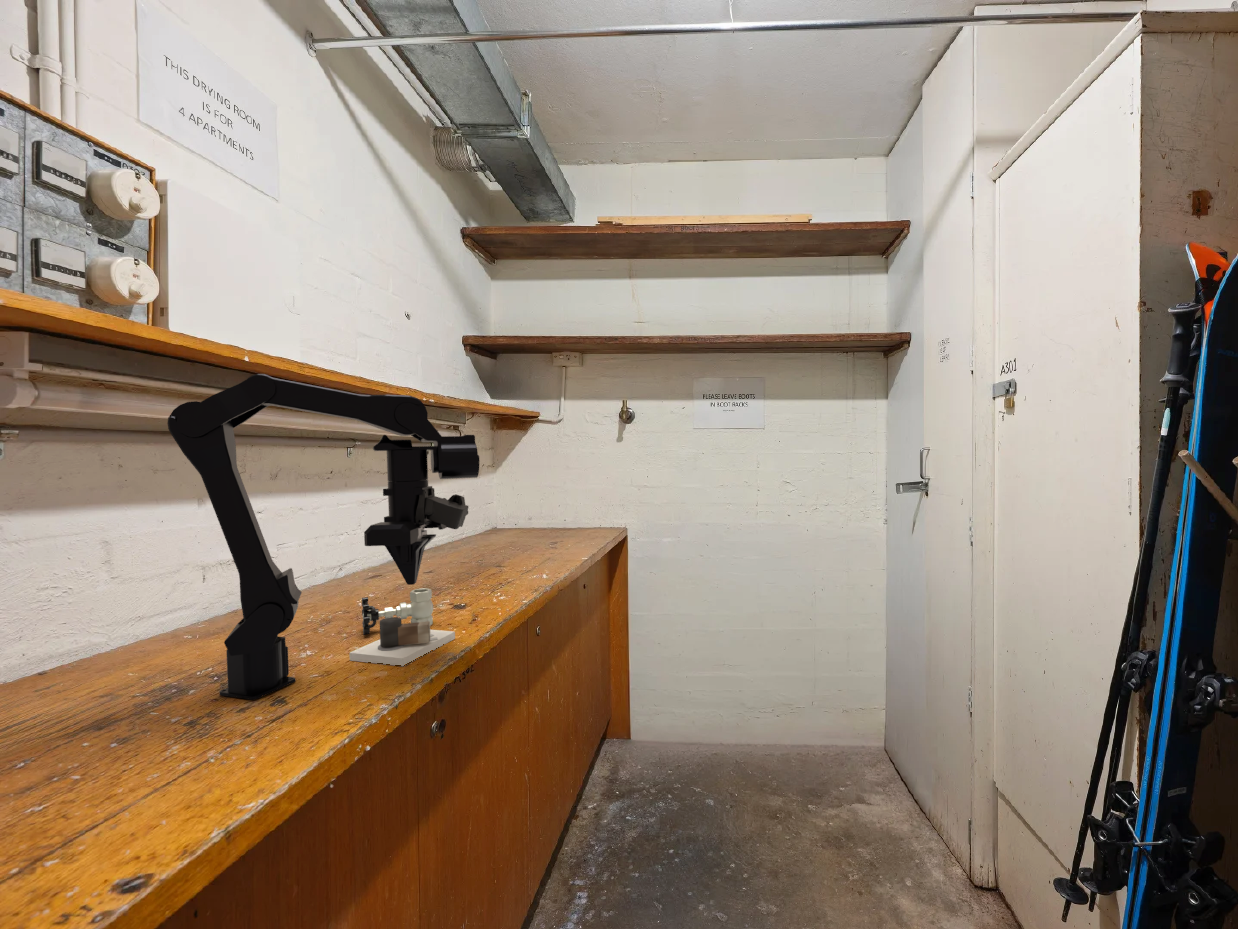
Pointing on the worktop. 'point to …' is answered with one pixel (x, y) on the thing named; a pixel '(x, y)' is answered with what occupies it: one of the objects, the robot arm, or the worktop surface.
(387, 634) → the lever
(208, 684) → the worktop surface
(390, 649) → the dial board
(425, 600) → the valve
